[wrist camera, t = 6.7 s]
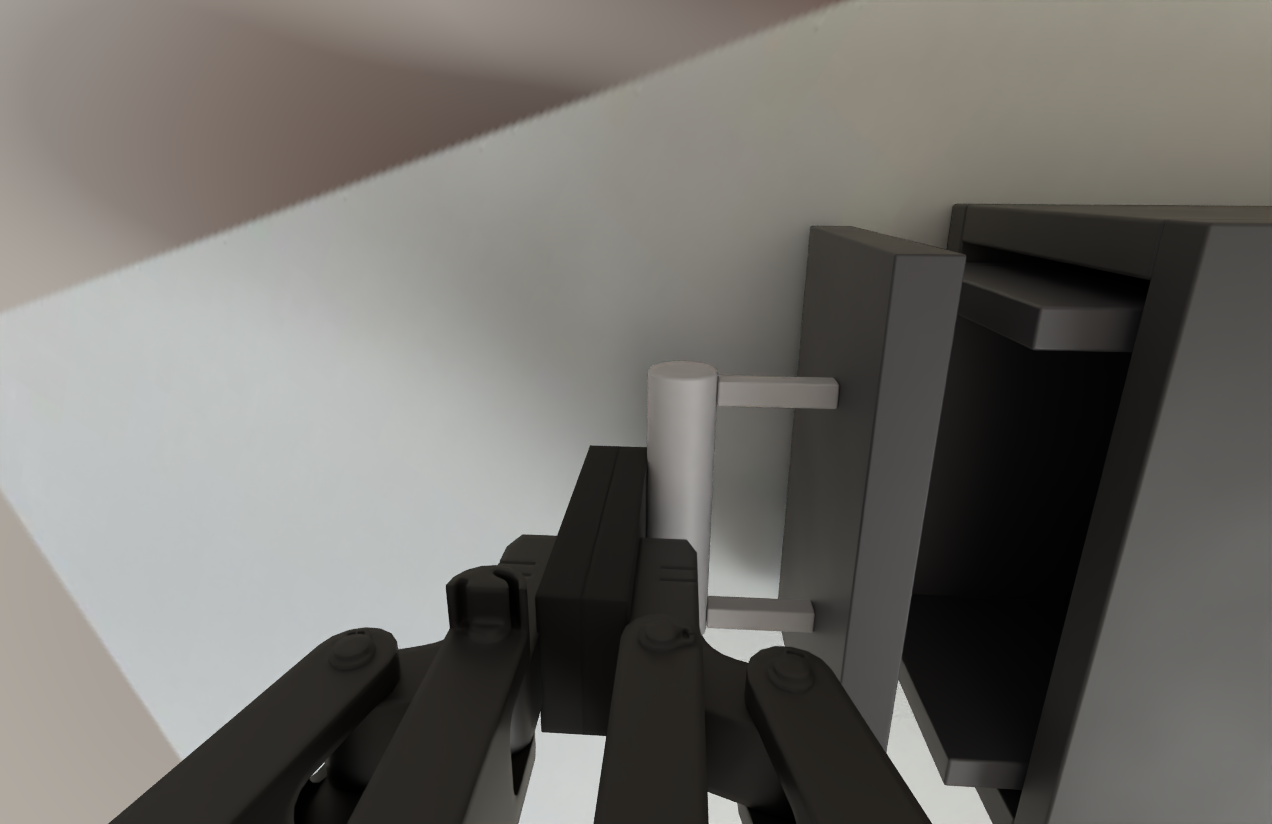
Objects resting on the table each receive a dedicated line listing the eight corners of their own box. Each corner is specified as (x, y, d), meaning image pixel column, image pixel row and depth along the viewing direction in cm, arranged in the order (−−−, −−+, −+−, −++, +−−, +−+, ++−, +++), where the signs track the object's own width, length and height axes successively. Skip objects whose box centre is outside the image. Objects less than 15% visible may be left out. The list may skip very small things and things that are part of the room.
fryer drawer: (652, 605, 23) (636, 808, 16) (657, 224, 19) (641, 250, 12) (1226, 631, 22) (1508, 863, 15) (1364, 231, 18) (1860, 265, 10)
